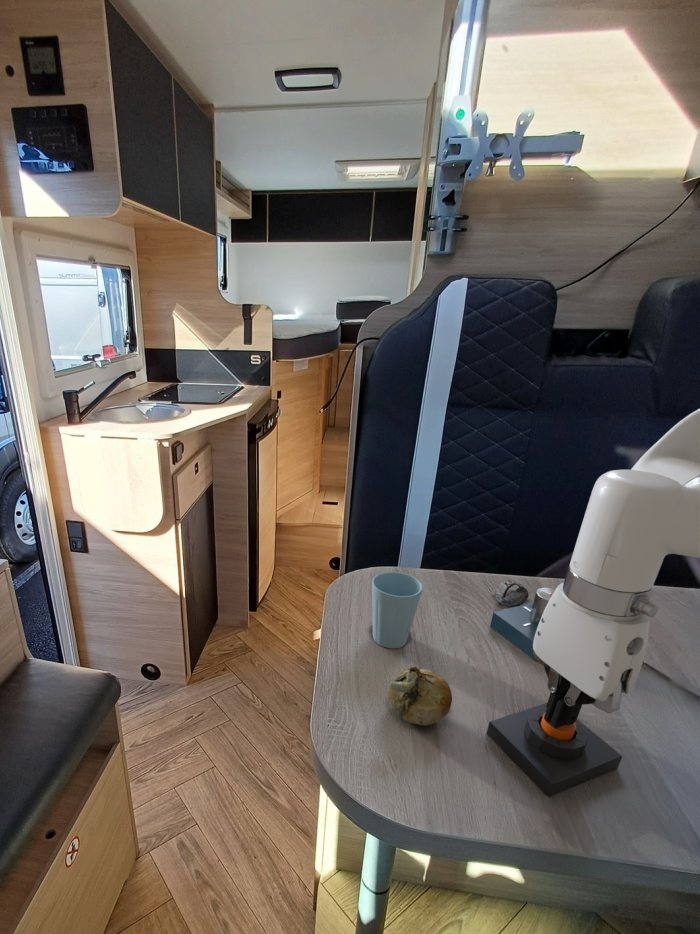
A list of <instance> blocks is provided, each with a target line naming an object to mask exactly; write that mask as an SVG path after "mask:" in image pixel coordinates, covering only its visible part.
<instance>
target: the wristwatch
mask: <svg viewBox="0 0 700 934" xmlns="http://www.w3.org/2000/svg"><path fill="white" fill-rule="evenodd" d="M513 586H517V588H516V589H515V590H512V591H511V593H510V594H509V596H508V597H506V595H507V592H508V591H509V590H510V588H512V587H513ZM529 596H530V595H529V591H528V589H527V588H526V587H525V586H524V585H523V584H521V583H520V582H517V581H516V580H514V579H513V578H506V579H505V580H504V581H503V582H502V581H501V583H500V584H499V586H498V587H497V590H496V595H495V600H496V601H498V602H499V603H500V604H501V605H502V606H508V607H516V606H521V605H523V604H524V603H525V602H526V601H527V600H528V598H529Z"/></svg>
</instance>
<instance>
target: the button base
mask: <svg viewBox="0 0 700 934" xmlns="http://www.w3.org/2000/svg"><path fill="white" fill-rule="evenodd" d="M546 705H547V702H545V703H542V704H539V705H536V706H533V707H529V708H527V709H524V710H521V711H517V712H515V713H512V714H509V715H506V716H502V717H500V718H497V719H493V720H490V721H489V722H488V726H487V729H486V735H487V736H488V738H490V739H491V741H493V743H494V744H496V746H498V748H500V750H502V752H503V753H504V754H506V756H507V757H508V758H509V759H510V760H511V761H512V762H513V763H514V764H515V765H516V766H517V767H518V768H519V770H521V771H522V772H523V773H524V774H525V775H526V776H527V777H528V778H529V779H530V781H532V782H533V784H534V785H535V786H536V787H538V788H539V790H541V792H543V794H544V795H545V796H546V797H548V798H550V797H552V796H555V795H557V794H560V793H562V792H564V791H567V790H569V789H572V788H574V787H577V786H579V785H582V784H584V783H587V782H588V781H589V782H590V781H591V780H594V779H596V778H599V777H601V776H603V775H606V774H609V773H611V772H614V771H616V770H618V768H619V765H620V763H621V761H622V759H623V755H622V754H621V753H619V752H618V751H617V750H615V748H613V747H612V746H611V745H610V744H608V743H607V742H606V741H605V740H603V739H602V738H601V737H600V736H599V735H597V734H596V733H595V732H594V731H592V730H591V729H590V728H589V727H587V726H586V725H585V724H584V723H582V721H580V720H579V719H578V718H577V720H576V721H575V723H576V730H575V733H574V735H573V738H572V740H570V741H563V740H557V739H555V738H553V737H551V736H548V735H547V734H546V733H545V732H544V731H543V730H541V728H540V724H541V721H542V718H543V714H544V713H545V712H546V710H547V708H546Z"/></svg>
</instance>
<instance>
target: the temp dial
mask: <svg viewBox="0 0 700 934" xmlns="http://www.w3.org/2000/svg"><path fill="white" fill-rule="evenodd" d="M555 590H556V588H552V587H540V588H537V589H536V592H535V595H534V599H533V602H532V603H533V606H532V609H531V613H530V617H529V618H530V620H531V621H532V622H533V623H534V624H536V625H538V624H539V622H540V619H541V617H542V614H543V612H544V610H545V608H546V606H547V604H548V602H549V600H550V598H551V596H552V595H553V593H554V591H555Z"/></svg>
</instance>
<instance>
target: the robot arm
mask: <svg viewBox="0 0 700 934" xmlns="http://www.w3.org/2000/svg"><path fill="white" fill-rule="evenodd" d="M673 554H674V555H677V556H679V555H680V556H685V557H690V558H691V557H692V558H697V559H700V408H698V409H697V410H695V411H693V412H691V413H689V414H688V415H686V416H685V417H684V418H683V419H681V420H679V421H678V422H677V423H676V424H675V425H674V426H673V427H671V428H670V429H669V430H668V431H667V432H666V433H665V434H663V436H662V437H660V438H659V439H658V440H657V442H655V443H654V444H653V445H652V446H651V447H649V449H648V450H647V451H645V453H644V454H643V455H642V456H641V457H640V458H639V459H638V460H637V461H636V462H635V464H634V465H633V466H632V467H631V469H613V470H609V471H607V472H605V473H603V474H601V475H600V476H599V477H598V478H597V479H596V481H595V483H594V485H593V488H592V490H591V494H590V496H589V500H588V503H587V506H586V509H585V512H584V517H583V519H582V522H581V526H580V529H579V533H578V536H577V539H576V542H575V546H574V549H573V552H572V555H571V559H570V563H569V564H568V567H567V571H566V574H565V576H564V580H563V582H560V583H559V584H558V585H557V587H556V588H555V589H556V590H555V591H554V593H553V595H552V596H551V598H550V600H549V602H548V604H547V606H546V608H545V610H544V612H543V614H542V617H541V619H540V622H539V624H538V627H537V630H536V633H535V637H534V642H533V650H534V651H533V655H534V657H535V658H536V659H537V660H538V661H537V662H539V664H540V665H541V666H542V667H543V669H544V672H545V674H546V677H547V689H548V691H549V692H550V693H549V697H548V700H547V702H546V703H547V705H546V708H547V710H546V713H545V716H544V719H545V720H546V721H547V722H550V723H551V725H552V726H553V727H554V728H558V727H561V726H564V725H571V724H573V723H575V721H576V720H577V719H578V718H579V716H580V715H579V714H580V712H581V709H582V706H584V705H593V706H594V707H595V708H597V709H599V710H601V711H603V712H605V713H607V714H611V713H614V712H617V711H620V708H621V700H622V693H624V694H625V695H627V694H630V693H632V692H633V690H634V689H635V687H636V684H637V682H638V678H639V676H640V673H641V670H642V667H643V663H644V659H645V657H646V656H645V655H646V652H647V647H648V643H649V636H650V628H651V627H650V625H651V618H654V617H655V616H656V615H657V614H658V612H659V610H660V606H659V605H657V604H656V603H654V602H653V600H651V597H652V596H653V593H654V590H653V587H654V585H655V583H656V580H657V578H658V575H659V572H660V570H661V567H662V564H663V562H664V559H665V557H666V556H668V555H673Z"/></svg>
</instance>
